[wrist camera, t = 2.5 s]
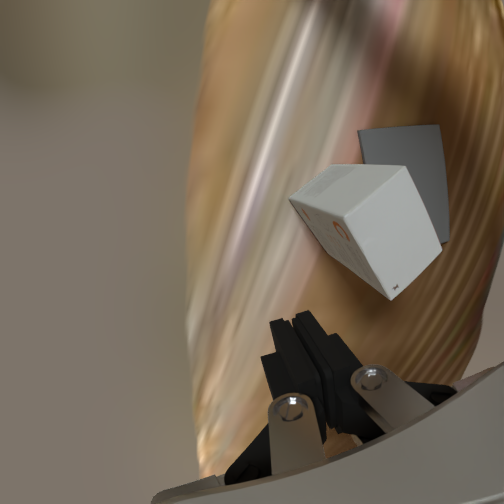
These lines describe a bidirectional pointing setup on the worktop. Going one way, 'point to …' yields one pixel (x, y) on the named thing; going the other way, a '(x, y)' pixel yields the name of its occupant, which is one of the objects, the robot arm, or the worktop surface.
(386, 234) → the small box
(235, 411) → the worktop surface
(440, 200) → the mat
